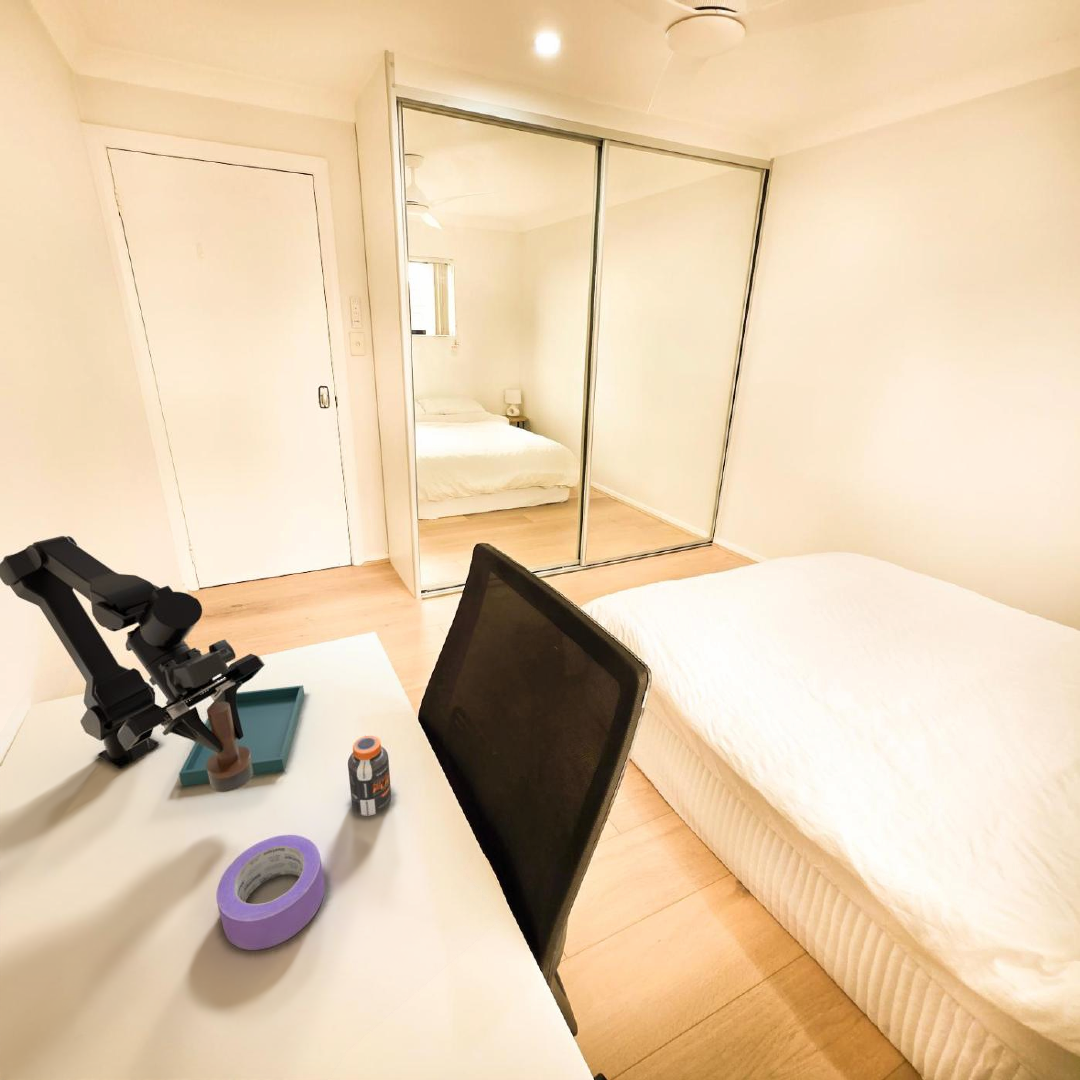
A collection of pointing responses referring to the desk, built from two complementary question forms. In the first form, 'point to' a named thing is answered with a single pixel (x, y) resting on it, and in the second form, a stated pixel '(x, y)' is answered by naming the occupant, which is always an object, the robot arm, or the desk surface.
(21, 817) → the desk surface
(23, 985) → the desk surface
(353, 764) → the pill bottle
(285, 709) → the tray
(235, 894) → the tape roll
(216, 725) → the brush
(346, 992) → the desk surface
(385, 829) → the desk surface
